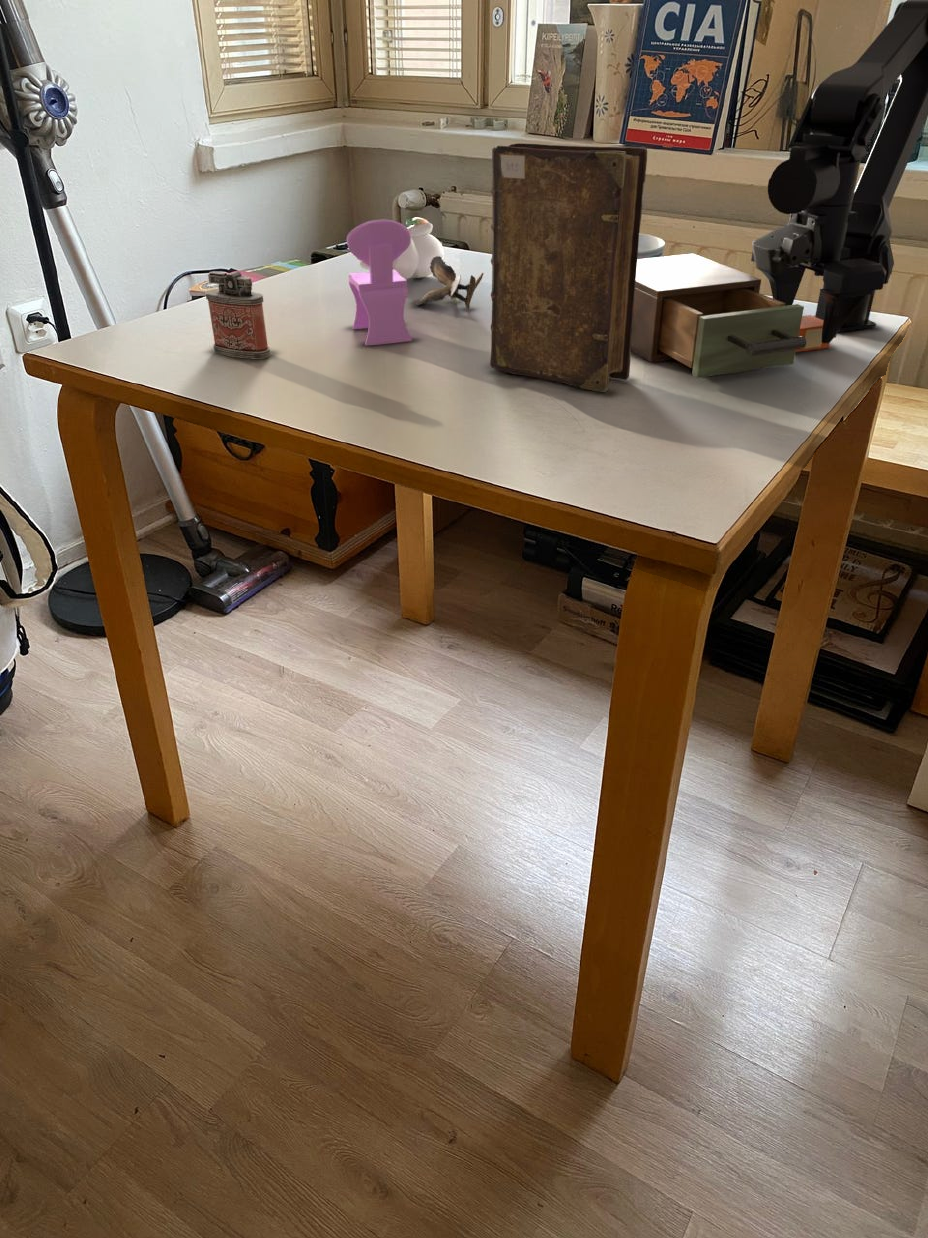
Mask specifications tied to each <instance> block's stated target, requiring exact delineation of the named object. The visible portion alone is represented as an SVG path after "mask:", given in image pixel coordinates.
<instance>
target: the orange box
mask: <svg viewBox="0 0 928 1238" xmlns="http://www.w3.org/2000/svg"><path fill="white" fill-rule="evenodd" d="M814 316H815V315H811V314H807V315H802V320H801V326H800V331H799V337H800V336H803V337H805V339H806V346H805V348H803V349H799V350H796V353H799V352H801V353H802V352H807V351H815V350H821V349H822V350H823V349H829V347H830V343H822V328H823V321H824V320H821V319H819V318H816V317H814ZM836 337H837V334H836V335H835V336H834V338H833V339H835V338H836Z"/></svg>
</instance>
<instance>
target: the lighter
mask: <svg viewBox="0 0 928 1238" xmlns="http://www.w3.org/2000/svg"><path fill="white" fill-rule="evenodd" d="M207 276H208V277H207V278H208V283H209V284H216V285H218V288H213V289H208V290H206V291H205V292H204V294H205V299H206V300H207V303H208V309H209V317H210V321H211V323H210V324H211V329H212V335H213V342H214V343H213V352H214V353H216V354H219V355H223V356H228V357H233V358H242V359H251V360H262V359H266V358H268V357H270V356H271V350H270V347H269V346H268V338H267V337H268V336H267V330H266V322H265V313H264V306H263V303H264V295H263V294H262V293H259V292H254V291H252V290H253V280H252V278H253V277H251V276H245V275H242V273H241V272H239V271H233V272H230V273H227V272H222V271H216V270H215V271H214V270H213V271H209V272H208V274H207Z"/></svg>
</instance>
